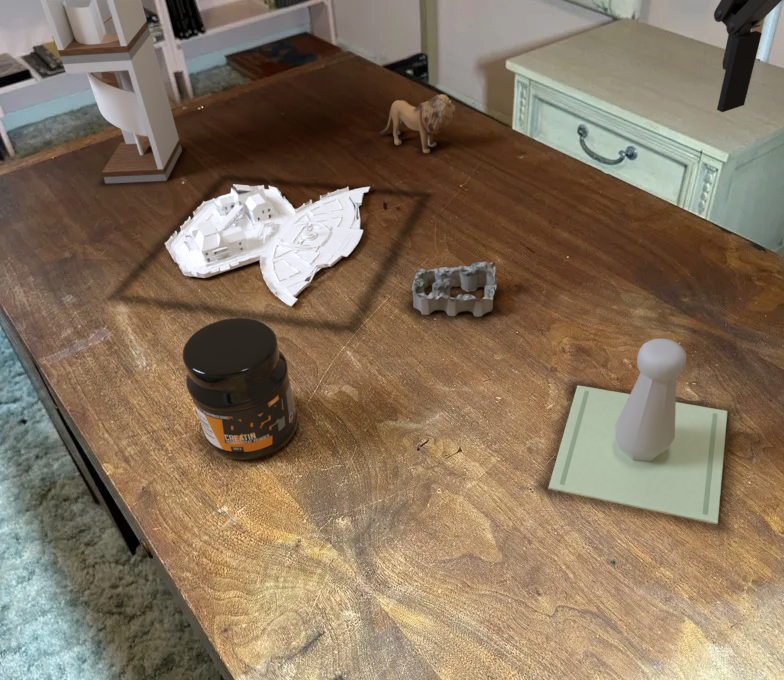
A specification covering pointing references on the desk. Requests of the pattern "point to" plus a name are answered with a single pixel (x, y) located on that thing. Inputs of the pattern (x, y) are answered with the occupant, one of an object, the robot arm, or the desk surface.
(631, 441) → the salt shaker
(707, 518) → the napkin
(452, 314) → the egg carton
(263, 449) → the supplement container
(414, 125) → the lion figurine
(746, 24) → the robot arm
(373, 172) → the desk surface
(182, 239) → the architectural model
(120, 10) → the tiered tower model
